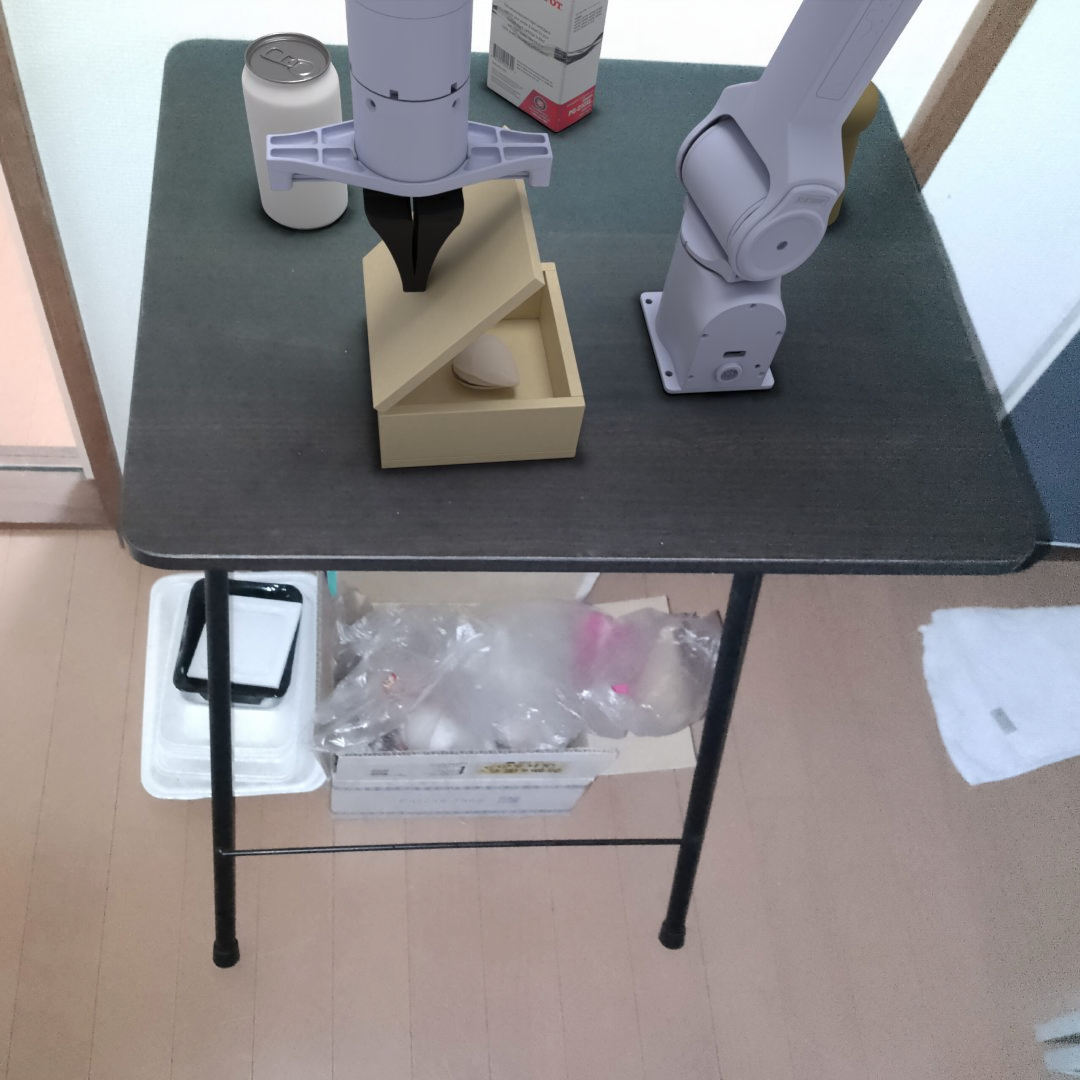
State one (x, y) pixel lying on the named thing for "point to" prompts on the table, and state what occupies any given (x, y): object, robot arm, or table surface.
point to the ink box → (547, 56)
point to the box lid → (450, 290)
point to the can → (292, 120)
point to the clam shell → (486, 364)
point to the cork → (855, 134)
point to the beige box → (497, 398)
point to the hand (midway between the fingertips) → (413, 280)
